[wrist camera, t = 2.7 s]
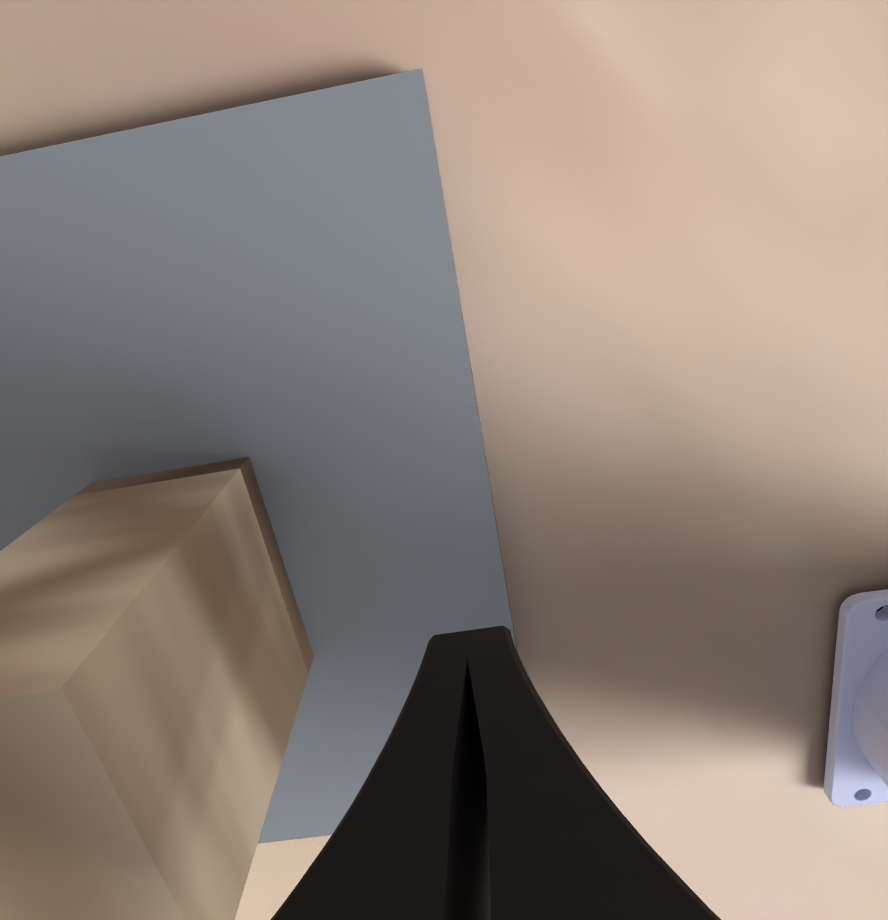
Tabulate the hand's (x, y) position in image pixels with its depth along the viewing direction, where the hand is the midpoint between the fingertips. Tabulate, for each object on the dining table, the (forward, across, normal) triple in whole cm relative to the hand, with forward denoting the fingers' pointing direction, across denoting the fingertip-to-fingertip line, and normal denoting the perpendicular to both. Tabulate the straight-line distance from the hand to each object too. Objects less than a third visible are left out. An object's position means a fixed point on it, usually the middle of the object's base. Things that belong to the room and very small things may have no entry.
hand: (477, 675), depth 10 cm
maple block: (+5, +7, 0) cm, 8 cm away
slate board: (+6, +8, 0) cm, 10 cm away
